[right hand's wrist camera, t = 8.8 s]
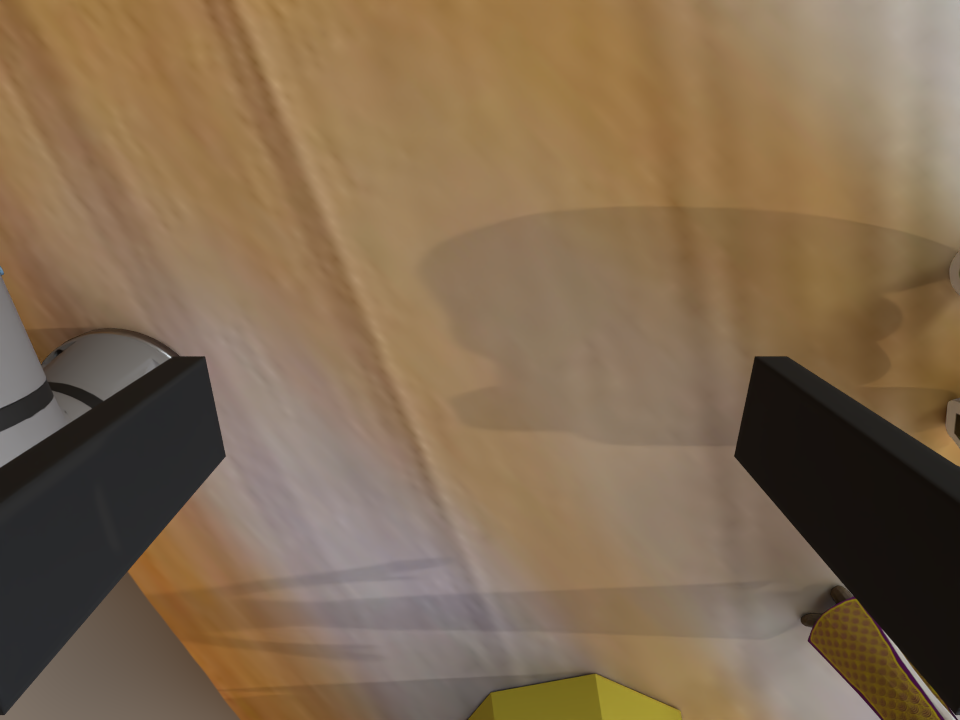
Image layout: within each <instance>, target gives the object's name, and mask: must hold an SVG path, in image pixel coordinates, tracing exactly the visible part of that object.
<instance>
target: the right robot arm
mask: <svg viewBox="0 0 960 720" xmlns="http://www.w3.org/2000/svg"><path fill="white" fill-rule="evenodd" d="M3 274H4V272H3V269H2V268H1V266H0V715H5V714H6V713H7V711H8V710H9V709H10V708H11V707H12V706H13V704H14V703H15V702H16V701H17V700H18V699H19V697H20V696H21V695H22V694H23V693H24V692H25V690H26V689H27V688H28V687H29V686H30V685H31V683H32V682H33V681H34V680H35V679H36V678H37V676H38V675H39V674H40V673H41V672H42V671H43V669H44V668H45V667H46V666H47V665H48V664H49V662H50V661H51V660H52V659H53V658H54V657H55V655H56V654H57V653H58V652H59V651H60V649H61V648H62V647H63V646H64V645H65V644H66V642H67V641H68V640H69V639H70V638H71V637H72V635H73V634H74V633H75V632H76V631H77V630H78V628H79V627H80V626H81V625H82V624H83V623H84V621H85V620H86V619H87V618H88V617H89V616H90V614H91V613H92V612H93V611H94V610H95V609H96V607H97V606H98V605H99V604H100V603H101V601H102V600H103V599H104V598H105V597H106V596H107V594H108V593H109V592H110V591H111V590H112V589H113V588H114V586H115V585H116V584H117V583H118V582H119V581H120V579H121V578H122V577H123V576H124V575H125V573H126V572H127V571H128V570H129V569H130V568H131V566H132V565H133V564H134V563H135V562H136V561H137V559H138V558H139V557H140V556H141V555H142V554H143V552H144V551H145V550H146V549H147V548H148V547H149V545H150V544H151V543H152V542H153V541H154V540H155V538H156V537H157V536H158V535H159V534H160V533H161V531H162V530H163V529H164V528H165V527H166V526H167V524H168V523H169V522H170V521H171V520H172V519H173V517H174V516H175V515H176V514H177V513H178V512H179V510H180V509H181V508H182V507H183V506H184V505H185V503H186V502H187V501H188V500H189V499H190V497H191V496H192V495H193V494H194V493H195V492H196V490H197V489H198V488H199V487H200V486H201V485H202V483H203V482H204V481H205V480H206V479H207V478H208V476H209V475H210V474H211V473H212V472H213V471H214V469H215V468H216V467H217V466H218V465H219V464H220V462H221V461H222V460H223V459H224V458H225V457H226V455H225V450H224V446H223V441H222V436H221V431H220V426H219V421H218V417H217V412H216V407H215V402H214V397H213V393H212V388H211V383H210V378H209V373H208V369H207V364H206V359H205V357H180V356H179V355H177V354H176V353H175V352H174V351H173V350H171V349H170V348H169V347H167V346H166V345H164V344H162V343H161V342H159V341H157V340H155V339H153V338H151V337H149V336H146V335H143V334H141V333H137V332H134V331H130V330H124V329H98V330H93V331H90V332H86V333H84V334H82V335H79V336H77V337H75V338H73V339H70V340H68V341H67V342H65V343H63V344H62V345H61V346H59V347H58V348H56V349H55V350H54V351H53V352H51V353H50V355H49V356H48V357H47V358H46V359H45V360H44V361H43V363H42V364H40V362H39V360H38V357H37V355H36V353H35V351H34V348H33V346H32V344H31V342H30V339H29V337H28V335H27V333H26V330H25V328H24V326H23V324H22V321H21V319H20V317H19V315H18V312H17V310H16V308H15V306H14V303H13V301H12V299H11V297H10V294H9V292H8V290H7V288H6V285H5V283H4V281H3V279H2V276H1V275H3ZM734 457H735V458H736V459H737V460H738V461H739V462H740V464H741V465H742V466H743V467H744V468H745V469H746V471H747V472H748V473H749V474H750V475H751V476H752V478H753V479H754V480H755V481H756V482H757V483H758V485H759V486H760V487H761V488H762V489H763V490H764V492H765V493H766V494H767V495H768V496H769V497H770V499H771V500H772V501H773V502H774V503H775V505H776V506H777V507H778V508H779V509H780V510H781V512H782V513H783V514H784V515H785V516H786V517H787V519H788V520H789V521H790V522H791V523H792V524H793V526H794V527H795V528H796V529H797V530H798V531H799V533H800V534H801V535H802V536H803V537H804V538H805V540H806V541H807V542H808V543H809V544H810V545H811V547H812V548H813V549H814V550H815V551H816V552H817V554H818V555H819V556H820V557H821V558H822V559H823V561H824V562H825V563H826V564H827V565H828V566H829V568H830V569H831V570H832V571H833V572H834V573H835V575H836V576H837V577H838V578H839V579H840V581H841V582H842V583H843V584H844V585H845V586H846V588H847V589H848V590H849V591H850V592H851V593H852V595H853V596H854V597H855V598H856V599H857V600H858V602H859V603H860V604H861V605H862V606H863V607H864V609H865V610H866V611H867V612H868V613H869V614H870V616H871V617H872V618H873V619H874V620H875V621H876V623H877V624H878V625H879V626H880V627H881V628H882V630H883V631H884V632H885V633H886V634H887V635H888V637H889V638H890V639H891V640H892V641H893V642H894V644H895V645H896V646H897V647H898V648H899V649H900V651H901V652H902V653H903V654H904V655H905V657H906V658H907V659H908V660H909V661H910V662H911V664H912V665H913V666H914V667H915V668H916V669H917V671H918V672H919V673H920V674H921V675H922V676H923V678H924V679H925V680H926V681H927V682H928V683H929V685H930V686H931V687H932V688H933V689H934V690H935V692H936V693H937V694H938V695H939V696H940V697H941V699H942V700H943V701H944V702H945V703H946V704H947V706H948V707H949V708H950V709H951V710H952V711H953V713H954V714H955V715H960V467H959V466H957V465H955V464H953V463H952V462H950V461H949V460H947V459H946V458H944V457H943V456H941V455H939V454H938V453H936V452H935V451H933V450H932V449H930V448H929V447H927V446H925V445H924V444H922V443H921V442H919V441H918V440H916V439H915V438H913V437H911V436H910V435H908V434H907V433H905V432H904V431H902V430H901V429H899V428H897V427H896V426H894V425H893V424H891V423H890V422H888V421H887V420H885V419H883V418H882V417H880V416H879V415H877V414H876V413H874V412H873V411H871V410H869V409H868V408H866V407H865V406H863V405H862V404H860V403H859V402H857V401H855V400H854V399H852V398H851V397H849V396H848V395H846V394H845V393H843V392H841V391H840V390H838V389H837V388H835V387H834V386H832V385H831V384H829V383H828V382H826V381H824V380H823V379H821V378H820V377H818V376H817V375H815V374H814V373H812V372H810V371H809V370H807V369H806V368H804V367H803V366H801V365H800V364H798V363H796V362H795V361H793V360H792V359H790V358H789V357H755V359H754V364H753V369H752V373H751V378H750V383H749V388H748V393H747V397H746V402H745V407H744V412H743V417H742V421H741V426H740V431H739V436H738V441H737V446H736V450H735V455H734Z"/></svg>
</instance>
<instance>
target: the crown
mask: <svg viewBox="0 0 960 720" xmlns="http://www.w3.org/2000/svg"><path fill="white" fill-rule="evenodd" d="M468 720H682V717H681V712H680V711H679V710H677V709H675V708H673V707H670V706H668V705H666V704H663V703H661V702H659V701H657V700H654V699H652V698H650V697H647V696H645V695H643V694H641V693H638V692H636V691H634V690H631V689H629V688H627V687H625V686H622V685H620V684H618V683H615V682H613V681H611V680H608V679H606V678H604V677H602V676H599V675H597V674H591V675H585V676H580V677H574V678H569V679H563V680H558V681H552V682H547V683H541V684H536V685H530V686H525V687H519V688H514V689H508V690H503V691H497V692H492V693H490V694H489V695H488V697H487V698H486V699H485V700H484V701H483V703H482V704H481V705H480V706H479V707H478V708H477V710H476V711H475V712H474V713H473V714H472V715H471V717H470V718H469V719H468Z"/></svg>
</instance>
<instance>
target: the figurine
mask: <svg viewBox="0 0 960 720" xmlns="http://www.w3.org/2000/svg"><path fill="white" fill-rule="evenodd" d="M831 596H832V598H833V599H834V601H835V602H836V603H837V604H836V605H834V606H833V607H831V608H830V609H828V610H827V611H826V612H824V613H823V614H812V613H810V614H807V615H804V616H803V617H802V618H801V622H802V624H803V625H805V626H808V627H812V630H811V633H810V636H809V638H808V642H809V643H810V644H811V645H812V646H813V647H814V648H815V649H816V650H817V651H818V652H819V653H820V654H821V655H822V656H823V657H824V658H825V659H826V660H827V661H828V663H829V664H830V665H831V666H832V667H833V668H834V669H835V670H836V671H837V672H838V673H839V674H840V675H841V676H842V677H843V678H844V679H845V680H846V681H847V683H848V684H849V685H850V686H851V687H852V688H853V689H854V690H855V691H856V692H857V693H858V694H859V695H860V696H861V697H862V699H863V700H864V701H865V702H866V703H867V704H868V705H869V706H870V708H871V709H872V710H873V711H874V712H875V713H876V714H877V715H878V717H879V718H880V719H881V720H958V719H957V718H956V717H955V715H954V714H953V712H952V711H951V710H950V708H949V707H948V706H947V704H946V703H945V702H944V701H943V700H942V699H941V697H940V696H939V695H938V694H937V693H936V692H935V690H934V689H933V688H932V687H931V686H930V685H929V683H928V682H927V681H926V680H925V679H924V678H923V676H922V675H921V674H920V673H919V672H918V671H917V669H916V668H915V667H914V666H913V665H912V664H911V662H910V661H909V660H908V659H907V658H906V657H905V655H904V654H903V653H902V652H901V651H900V649H899V648H898V647H897V646H896V645H895V644H894V642H893V641H892V640H891V639H890V638H889V637H888V635H887V634H886V633H885V632H884V631H883V630H882V628H881V627H880V626H879V625H878V624H877V623H876V621H875V620H874V619H873V618H872V617H871V616H870V614H869V613H868V612H867V611H866V610H865V609H864V607H863V606H862V605H861V604H860V603H859V602H858V600H857V599H856V598H855V597H853V596H852V595H851V594H850V592H849V591H848V590H846V589H845V588H844V587H842V586H836V587H834V588H833V589H832V591H831Z"/></svg>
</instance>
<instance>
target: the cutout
mask: <svg viewBox="0 0 960 720" xmlns="http://www.w3.org/2000/svg"><path fill="white" fill-rule="evenodd" d="M949 274H950V282H951V284H952V287H953V288H954V290H955V291H956V293H957V294H958V295H960V251H958V253H957V254H956V255H955V256H954V258H953V260H952V262H951V265H950V269H949ZM945 426H946V431H947V433H948V434H949V436H950V437H951V438H952V439H953V440H954V442H955V443H956V444H957V446H958V447H959V448H960V398H957V399H953V400H951V401H949V402H948V405H947V415H946V424H945Z"/></svg>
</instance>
